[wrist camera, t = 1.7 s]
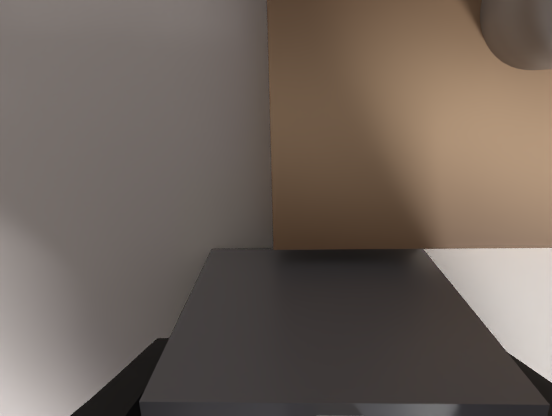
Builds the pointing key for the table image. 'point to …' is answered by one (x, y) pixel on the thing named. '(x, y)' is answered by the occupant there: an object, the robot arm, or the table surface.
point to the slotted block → (333, 341)
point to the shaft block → (410, 123)
